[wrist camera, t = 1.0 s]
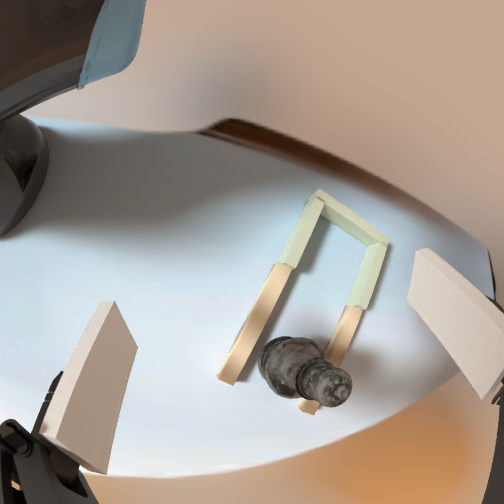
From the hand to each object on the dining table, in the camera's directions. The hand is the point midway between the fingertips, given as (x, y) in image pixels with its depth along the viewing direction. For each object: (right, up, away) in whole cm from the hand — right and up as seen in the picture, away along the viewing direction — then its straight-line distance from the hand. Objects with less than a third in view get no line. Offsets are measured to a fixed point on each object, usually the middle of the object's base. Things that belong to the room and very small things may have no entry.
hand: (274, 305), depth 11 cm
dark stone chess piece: (+2, -9, +15) cm, 18 cm away
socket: (+8, +1, +18) cm, 20 cm away
